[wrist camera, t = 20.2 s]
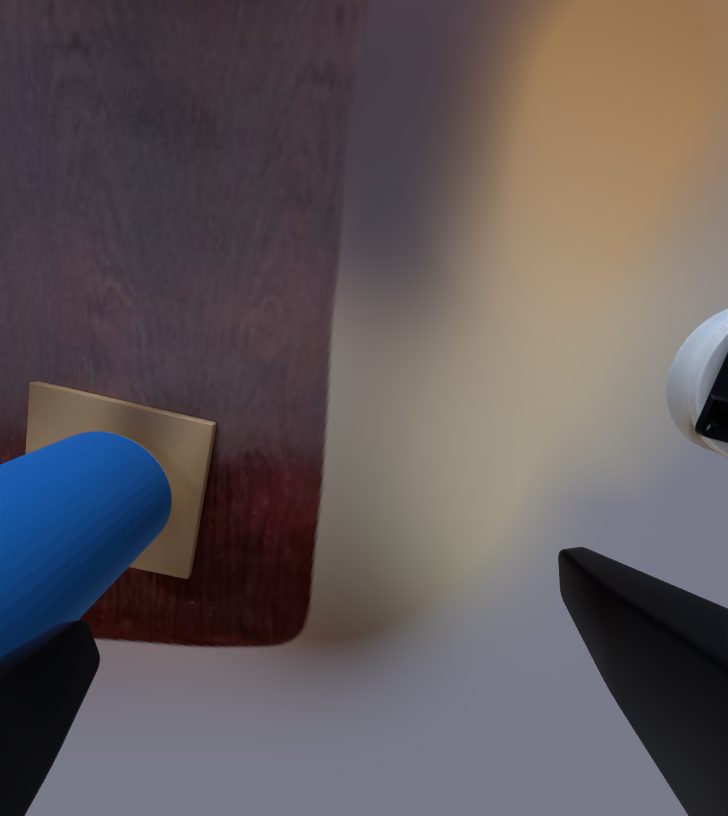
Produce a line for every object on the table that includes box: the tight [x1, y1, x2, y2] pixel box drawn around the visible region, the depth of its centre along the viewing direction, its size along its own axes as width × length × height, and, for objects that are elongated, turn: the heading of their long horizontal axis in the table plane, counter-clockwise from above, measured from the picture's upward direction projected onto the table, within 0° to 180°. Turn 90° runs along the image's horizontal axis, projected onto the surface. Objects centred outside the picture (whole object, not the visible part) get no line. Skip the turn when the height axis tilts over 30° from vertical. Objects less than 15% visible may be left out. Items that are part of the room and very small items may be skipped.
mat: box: [26, 381, 217, 579], centre depth 20 cm, size 9×9×1 cm
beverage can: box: [0, 431, 172, 657], centre depth 14 cm, size 6×6×12 cm
